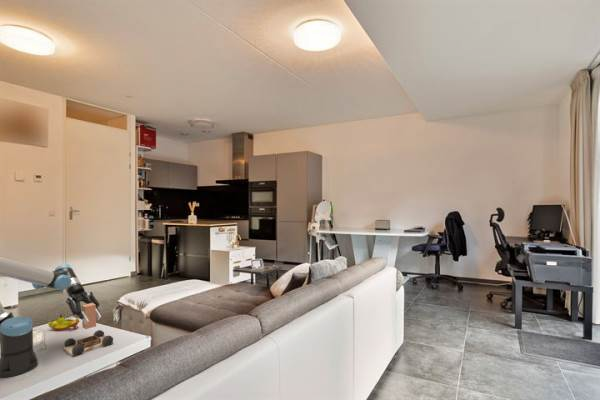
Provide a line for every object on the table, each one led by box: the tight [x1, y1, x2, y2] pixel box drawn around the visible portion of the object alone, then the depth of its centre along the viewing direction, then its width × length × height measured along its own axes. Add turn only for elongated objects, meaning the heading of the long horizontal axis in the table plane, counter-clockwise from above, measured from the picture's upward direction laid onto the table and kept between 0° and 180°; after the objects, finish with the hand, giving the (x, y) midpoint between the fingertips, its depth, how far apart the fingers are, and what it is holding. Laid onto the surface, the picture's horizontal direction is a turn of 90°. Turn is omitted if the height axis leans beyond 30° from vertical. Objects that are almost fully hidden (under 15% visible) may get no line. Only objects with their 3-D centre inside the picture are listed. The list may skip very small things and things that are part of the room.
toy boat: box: [47, 313, 80, 331], centre depth 203 cm, size 6×18×10 cm, turn 89°
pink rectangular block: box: [81, 303, 97, 330], centre depth 178 cm, size 5×5×12 cm
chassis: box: [63, 329, 114, 358], centre depth 177 cm, size 20×14×5 cm
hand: (93, 320), depth 176 cm, fingers closed on pink rectangular block, 6 cm apart
